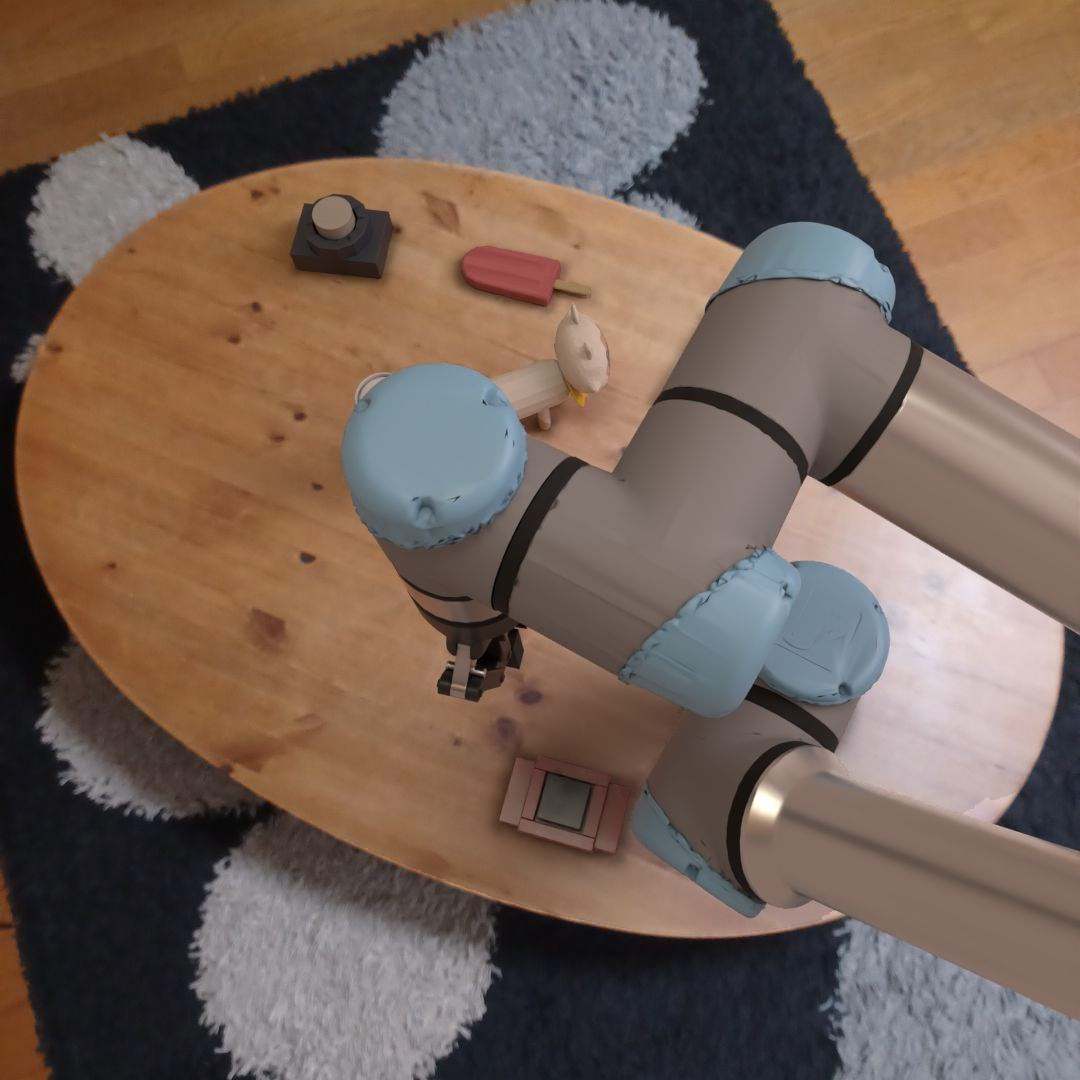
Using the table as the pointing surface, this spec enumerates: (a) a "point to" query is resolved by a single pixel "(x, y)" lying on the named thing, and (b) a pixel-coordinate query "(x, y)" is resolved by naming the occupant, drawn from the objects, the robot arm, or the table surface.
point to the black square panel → (564, 802)
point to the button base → (344, 243)
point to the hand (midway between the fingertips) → (504, 656)
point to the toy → (560, 370)
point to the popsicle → (516, 274)
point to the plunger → (333, 218)
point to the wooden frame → (599, 816)
